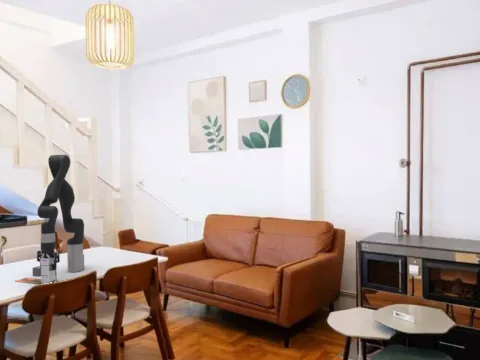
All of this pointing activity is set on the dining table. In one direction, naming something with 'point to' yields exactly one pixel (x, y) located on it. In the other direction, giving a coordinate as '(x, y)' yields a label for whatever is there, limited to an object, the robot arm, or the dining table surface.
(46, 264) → the syrup box
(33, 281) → the flat rectangular plate
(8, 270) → the dining table surface
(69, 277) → the dining table surface
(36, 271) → the die
